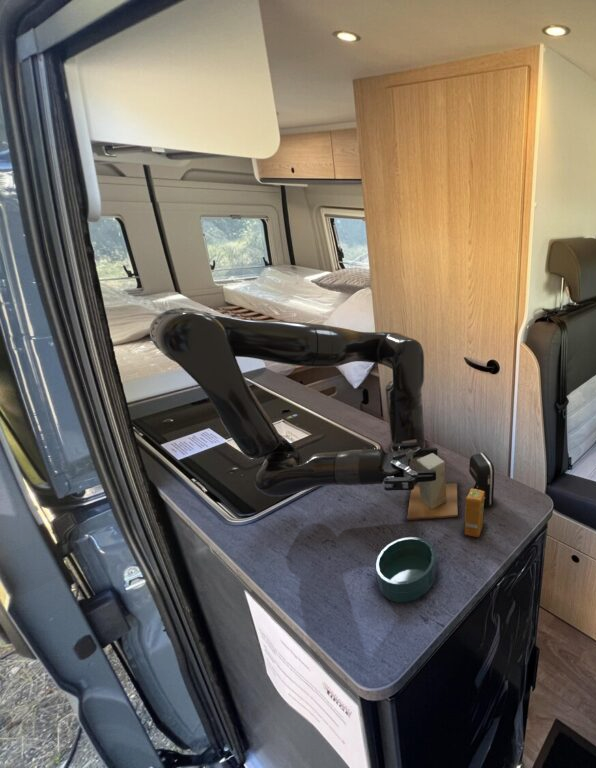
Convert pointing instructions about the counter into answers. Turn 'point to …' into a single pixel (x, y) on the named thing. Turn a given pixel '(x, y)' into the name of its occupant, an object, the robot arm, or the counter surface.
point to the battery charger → (483, 475)
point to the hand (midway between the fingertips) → (436, 463)
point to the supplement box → (474, 512)
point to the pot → (406, 569)
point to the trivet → (442, 511)
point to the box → (432, 490)
